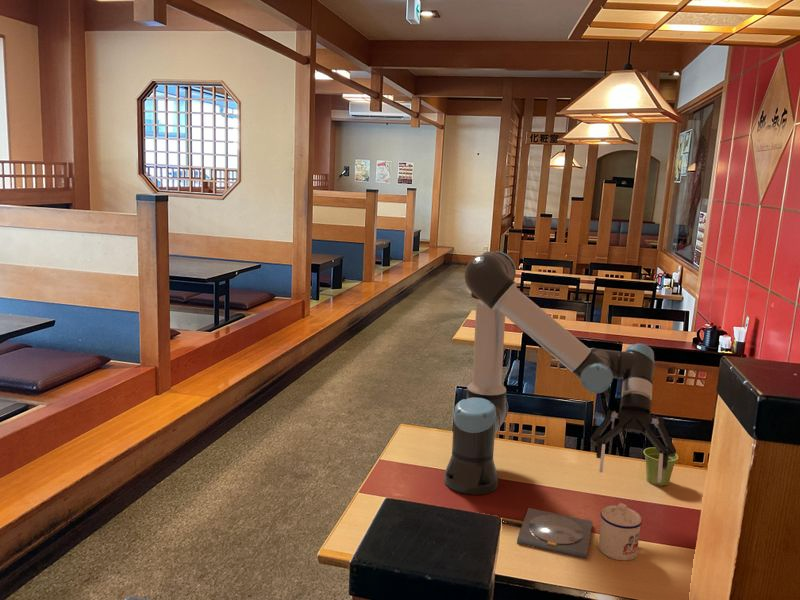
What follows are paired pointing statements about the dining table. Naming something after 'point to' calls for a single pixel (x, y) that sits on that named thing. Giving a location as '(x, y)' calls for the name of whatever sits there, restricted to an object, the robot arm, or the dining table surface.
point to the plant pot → (652, 467)
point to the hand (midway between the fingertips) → (629, 475)
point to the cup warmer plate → (555, 532)
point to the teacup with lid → (619, 532)
